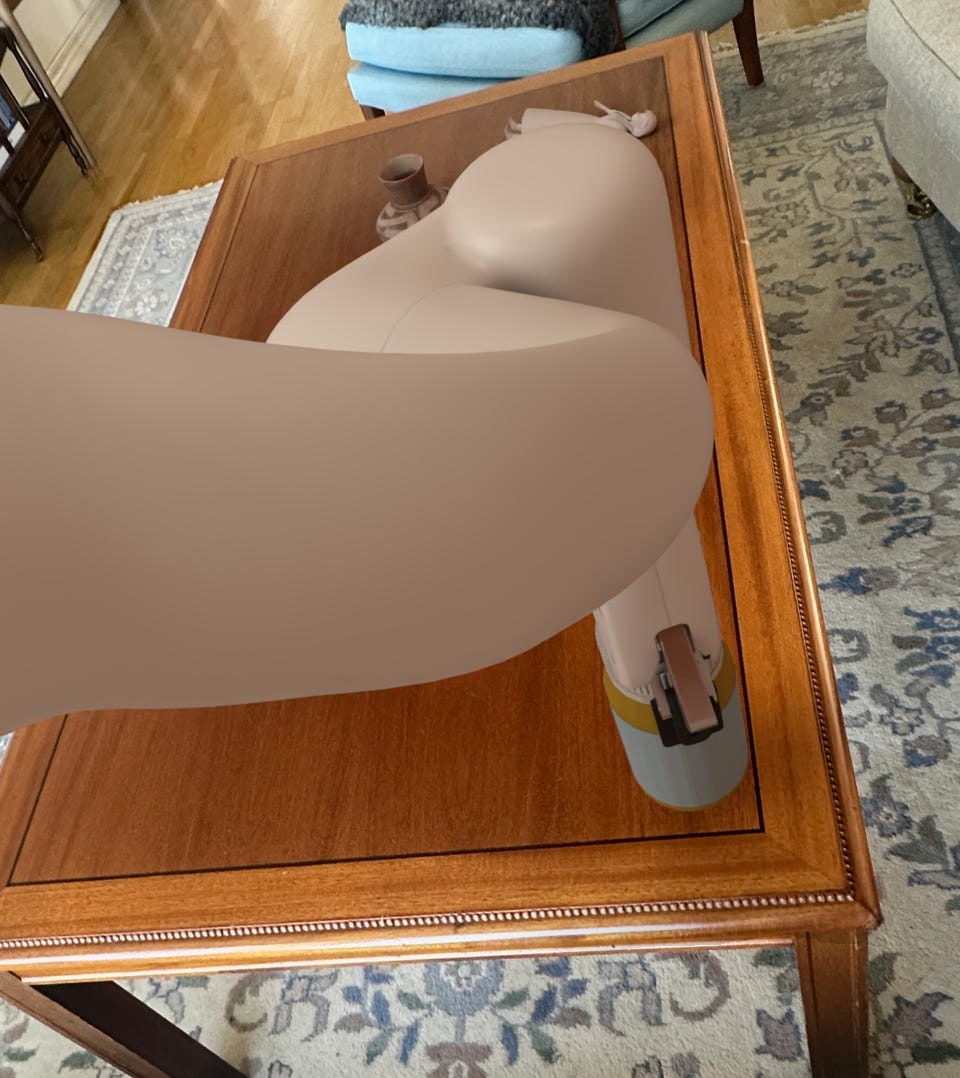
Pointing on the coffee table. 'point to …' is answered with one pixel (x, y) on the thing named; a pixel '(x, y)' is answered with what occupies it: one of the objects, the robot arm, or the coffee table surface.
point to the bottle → (681, 770)
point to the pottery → (407, 195)
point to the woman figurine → (583, 120)
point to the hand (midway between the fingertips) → (667, 673)
